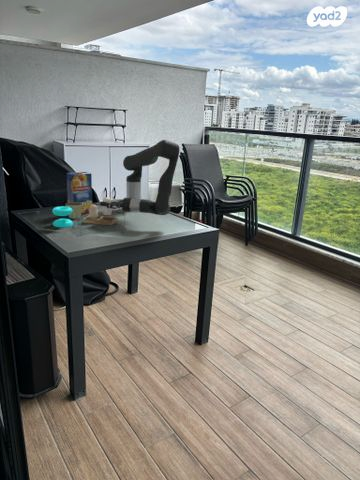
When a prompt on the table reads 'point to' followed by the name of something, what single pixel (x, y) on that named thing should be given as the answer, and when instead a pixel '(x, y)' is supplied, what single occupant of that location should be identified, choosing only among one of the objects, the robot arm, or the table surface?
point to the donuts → (62, 212)
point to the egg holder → (101, 220)
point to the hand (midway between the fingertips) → (102, 202)
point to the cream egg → (106, 210)
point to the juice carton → (80, 189)
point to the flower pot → (75, 209)
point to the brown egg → (93, 212)
